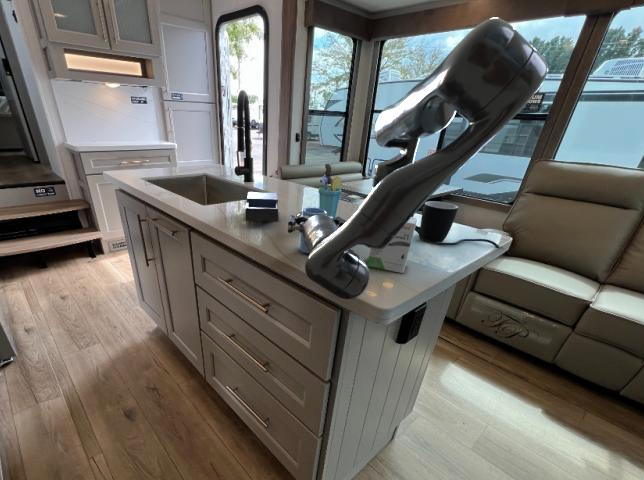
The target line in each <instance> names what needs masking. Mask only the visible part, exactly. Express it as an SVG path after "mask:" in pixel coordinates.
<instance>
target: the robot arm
mask: <svg viewBox="0 0 644 480" xmlns="http://www.w3.org/2000/svg"><path fill="white" fill-rule="evenodd" d="M548 64H549V63H547V61H546V59H545V58H544V57H543V56H542V54H541V53H540V52H539V51H538V50H537V49H536V48H535V47H534V46H533V45H532V44H531V43H530V42H529V41H528V40H527V39H526V38H525V37H524V36H523V35H522V34H521V33H519V31H517V30H516V29H515V27H514V26H513V25H511V24H510V23H509V22H508V21H506V20H504V19H502V18H500V17H492V18H489V19H486V20H484V21H482V22H481V23H479V24H478V25H476V26H475V27H474V28H473V29H472V30H470V31H469V32H468V33H467V34H466V35H465V36H464V37H463V39H461V40H460V42H458V43H457V44H456V46H455V47H454V48H453V49H452V50H451V51H450V52H449V53H448V54H447V56H446V57H445V58H444V59H443V60H442V61H441V62H440V63H439V64H438V65H437V66H436V68H434V69H433V71H432V72H431V73H430V74H427V76H426V77H425V78H423V79H422V80H421V81H419V82H418V83H417V84H415V86H413V87H412V88H411V89H410V90H408V92H407V93H406V94H405V95H404V96H402V97H401V98H400V99H398V100H397V101H396V102H394V103H393V104H391V105H388V106H386V107H384V109H382V111H381V112H380V113H379V115H378V117H377V120H376V123H375V127H374V139H375V142H376V144H377V145H378V146H379V147H381V148H385V149H399V152H398V153H397V155H395V156H394V157H392V158H390V159H387V160H385V161H381V162H379V163H377V164H376V165H375V168H374V172H373V178H372V185H371V191H370V193H369V194H368V195H367V197H366V198H365V199H364V201H363V202H362V203H361V205H359V207H358V208H357V210H356V211H354V213H353V214H352V216H351V217H350V218H349V219H347V221H346V220H345V219H343V218H342V217H341V216H335V218H333V216H330V215H329V214H328V213H326V215H322V214H319V215H315V216H312V217H309V216H303V214H302V211H298V213H296V214H295V215H294V214H292V215H289V218H288V221H287V233H289V234H293V233H294V232H296V231H299V233H300V234H301V233H302V234H303V238H304V243H305V246H306V248H307V250H308V252H309V253H308V255H307V257H306V260H305V265H304V272H305V274H306V277H308V278H309V280H310V281H312V282H313V283H315V284H317V285H318V286H320V287H322V288H323V289H325V290H327V291H328V292H329V293H331V294H333V295H335V296H336V297H338V298H340V299H343V300H353V299H356V298H358V297H360V296H361V295H362V294H363V293H364V292H365V291H366V290H367V288H368V285H369V283H370V269H369V267H368V266H367V262H366V261H365V260H363V258H362V257H361V256H360V255H359V254H358V253H357V252H355V251H354V250H353V248H354V247H356V246H362V247H363V246H364V247H367V248H368V249H370V248H371V249H373V250H377V251H379V250H382V249H384V248H385V247H386V246H387V245H388V244H389V243H390V242H391V241H392V239H393V237H395V236H396V235H397V234H398V232H399V231H400V230H401V229H402V228H403V226H404V225H405V224H406V223H407V222H408V221H409V219H410V218H411V217H412V216H413V215H414V216H415V214H416V213H417V212H418V211H417V210H418V209H419V208H421V207H423V205H424V204H425V202H427V201H428V200H429V198H430V197H432V196H433V194H435V192H437V191H438V189H440V188H441V187H442V186H443V185H444V184H445V183H446V182H447V181H448V180H450V178H452V177H453V176H454V175H455V174H456V173H458V171H459V170H460V169H461V168H462V167H463V166H465V164H467V163H468V162H469V161H470V159H472V158H473V157H474V156H475V155H476V154H477V153H478V152H479V151H481V150H482V149H483V147H485V146H486V145H487V144H488V143H489V142H490V141H491V140H492V139H493V138H494V137H495V136H497V134H498V133H499V132H500V131H501V130H502V129H504V128H505V127H506V126H507V124H509V122H511V120H513V119H514V117H516V116H517V114H519V112H521V110H523V108H524V107H525V106H526V105H527V104H528V103H529V102H530V101H531V99H532V98H533V97H534V96H535V94H536V93H537V92H538V91H539V89H540V88H541V86H542V85H543V84H544V81H545V80H546V77H547V75H548V71H549V66H548ZM456 113H457V114H459V116H460V117H461V118H463V119H464V120H465V121H466V122H467V123H468V125H467V127H466V128H465V129H464V130H463V131H462V132H461V133H460V134H459V135H458V136H457V137H456V138H454V140H452V141H451V142H450V143H449V144H447V145H446V146H444V147H442V148H441V149H438V150H436V151H435V152H433V153H431V154H429V155H427V156H425V157H422V158H420V159H418V160H415V157H416V152H417V149H418V146H419V142H420V139H424V138H427V137H430V136H432V135H436V134H437V133H439V132H441V131H442V130H444V129H445V128H446V127H447V126H448V125H450V123H451V121H452V120H453V119H454V117H455V115H456ZM416 211H417V212H416ZM415 212H416V213H415ZM414 213H415V214H414ZM414 216H413V217H414ZM414 232H416V233H417V234H418V237H419V238H420V240H421V241H423V242H425V243H428V244H432V245H437V246H456V245H459V244H460V243H462V242H485V243H489V244H491V245H493V246H494V247H495V248H496V249H500V246H499V244H498V243H496V242H495V241H493V240H490V239H486V238H463V239H462V238H461V239H459V240H457V241H455V242H454V241H453V242H431V241H428V240H426V239H424V238H423V237H422V235H421V232H420V231H419V230H418V229H417V228H415V230H414Z"/></svg>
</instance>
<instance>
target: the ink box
mask: <svg viewBox="0 0 644 480" xmlns="http://www.w3.org/2000/svg"><path fill="white" fill-rule="evenodd" d="M417 221H418V219H417V217H414V216H413V217H411V218H410V219H409V221H408V222H407V223H406V224H405V225H404V226H403V228H402V229H401V230H400V231H399V232H398V234H397V235H396V236H395V237H393V239H392V241H391V242H390V243H389V244H388V245H387V246H386V247H385V248H384V249H382V250H379V251H377V250H373V249H371V248H369V254H368V258H367V262H366V264H367V266H368V268H374V269H380V270H385V271H388V272H389V271H390V272H395V273H400V274H404V272H405V268H406V265H407V261H408V258H409V254H410V249H411V247H412V246H411V245H412V243H413V238H414V234H415V226H417Z"/></svg>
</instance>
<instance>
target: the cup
mask: <svg viewBox="0 0 644 480" xmlns="http://www.w3.org/2000/svg"><path fill="white" fill-rule="evenodd" d="M319 182H320V184H321V183H323V182H324V186H321V187H318V194H319V195H318V196H319V197H318V198H319V199H318V201H319V202H318V204H319V205H318V208H320V209H324V210H326V213H328V214H329V215H330V216H333V218H336V217H337V216H336V215H337V211H338V206H339V200H340V196H341V195H342V185H343V182H342V178H341V177H339V176H335V177H333V178H332V179H331V183H330V186H329V184H328V177H327V176H324V177H322V178H321V179H320V180H319Z"/></svg>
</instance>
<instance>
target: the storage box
mask: <svg viewBox="0 0 644 480" xmlns="http://www.w3.org/2000/svg"><path fill="white" fill-rule="evenodd" d="M278 197H279V195H278V193H277V192H260V191H259V192H255V191H248V192H247V196H246V204H245V221H250V222H251V221H253V222H256V221H257V222H278V221H279V198H278Z"/></svg>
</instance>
